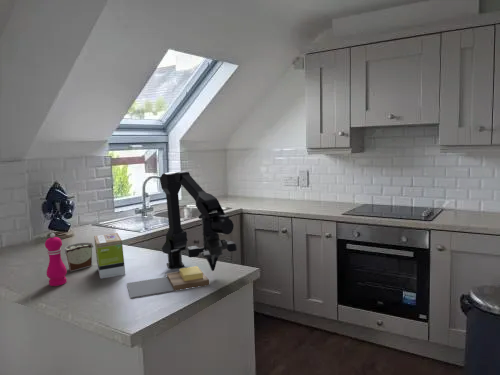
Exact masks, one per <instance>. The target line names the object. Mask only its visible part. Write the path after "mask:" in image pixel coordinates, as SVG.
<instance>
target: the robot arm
mask: <svg viewBox="0 0 500 375" xmlns="http://www.w3.org/2000/svg"><path fill="white" fill-rule="evenodd" d="M159 182H160V186H161V190H162V191H163V193H164V194H165V197H166V199H165V200H166V206H167V208H166V209H167V218H168V231H167V233H166V235H165V242H164V244H163V245H162V247H161V249H162V253H163V254H166V255H167V260H168V261H167V263H166V265H167V267H168V268H169V269H175V268H180V267H181V268H183V267H185V264H184V262H183V256H182V251H183V252H184V251H185V254H186V255H187V257H188V258H195V257H198V256H199V255H200V254H201V256H202V257H204V258H205V259H206V261H207V263H208V266H209V268H210V270H211V271H212V272H214V271H215V269H216V265H217V262H218V260H219V258H220V256H222V255H223V250H226V251H228V252H236V251H238V247H237V246H238V245H237V244H236V243H235V242H234V241H233V240H227V239H226V238H225V239H220V236H219V234H221V235H230V234H231V233H232V232H233V231H234V223H233V221H232V220H231V219H230V216H229V215H227V214H225V211H224V209H223V208H222V206H221V204H220V202H219V200H218V198H217V197H216V196H214V195H213V194H211V193H210V192H209V193H208V192H206V191H205V190H204V189H203V188H202V187H201V185H199V184H198V182H197V181H196V180H195V179H194V178H193V177H192V176H191V174H190V172H189V171H187V170H184V171H172V172H163V173H161V176H159ZM182 187H183V188H184V190H186V192H187V193H188V194H189V195H190V196H191V198H192V199H193V200H194V201H195V206H196V209H197V210H198V211H199V213H200V215H199V216H198V219H199V220H201V223H202V240H203V242H202V245H203V246H202V247H198V246H197V245H191V246H187V244H188V234H187V231H184V229H183V228H182V224H181V223H182V221H181V210H180V198H179V192H180V191H181V189H182Z"/></svg>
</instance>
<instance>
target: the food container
mask: <svg viewBox="0 0 500 375" xmlns="http://www.w3.org/2000/svg"><path fill="white" fill-rule="evenodd" d="M93 248H94V245H93V243H92V242H79V243H72V244H68V245H67V246H65V248H64V251H63V253H64V254H65V256H66V259H67V264H68V270H69V271H70V272H74V271H78V270H83V269H86V268H89V267H92V266H93Z"/></svg>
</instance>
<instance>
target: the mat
mask: <svg viewBox="0 0 500 375" xmlns="http://www.w3.org/2000/svg"><path fill="white" fill-rule="evenodd" d="M126 286H127V288H128V294H129V296H130V297H129V298H130V299H131V300H133V299H137V298H144V297H150V296H156V295H162V294H167V293H168V294H169V293H173V291H174V289H173V287H172V285H171V284H170V282H169V280H168V278H167V276H164V277H163V276H162V277H157V278H152V279H151V278H150V279H146V280H138V281H132V282H127V283H126ZM174 292H175V291H174Z"/></svg>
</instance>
